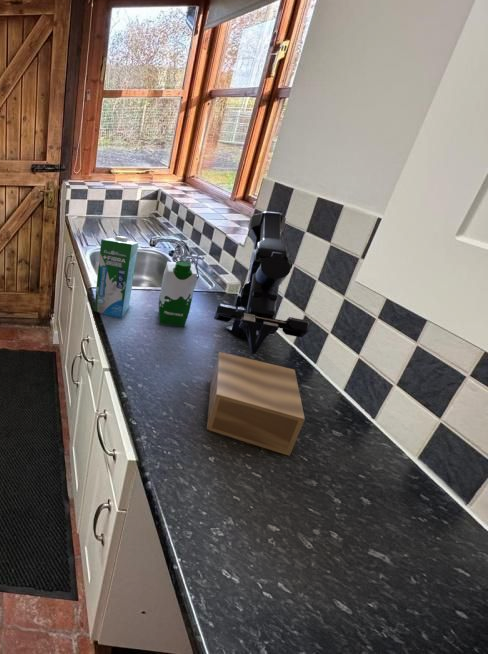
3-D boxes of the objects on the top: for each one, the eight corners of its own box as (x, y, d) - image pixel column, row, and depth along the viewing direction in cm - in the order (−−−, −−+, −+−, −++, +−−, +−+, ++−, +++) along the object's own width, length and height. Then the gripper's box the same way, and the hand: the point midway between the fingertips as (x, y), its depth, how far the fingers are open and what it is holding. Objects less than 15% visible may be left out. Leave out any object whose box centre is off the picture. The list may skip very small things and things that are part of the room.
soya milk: (156, 324, 124) (167, 264, 115) (155, 310, 131) (165, 253, 123) (187, 329, 121) (201, 268, 113) (185, 315, 129) (197, 256, 120)
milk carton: (129, 306, 134) (139, 235, 124) (121, 318, 128) (131, 244, 117) (102, 300, 139) (110, 230, 128) (93, 311, 132) (101, 239, 121)
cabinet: (210, 384, 99) (219, 351, 95) (282, 403, 92) (294, 369, 88) (206, 429, 86) (216, 394, 82) (289, 456, 79) (305, 419, 75)
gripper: (299, 311, 103) (291, 370, 99) (216, 296, 111) (206, 350, 107) (314, 297, 93) (305, 362, 89) (222, 281, 102) (211, 340, 98)
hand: (253, 353), depth 96 cm, fingers closed
